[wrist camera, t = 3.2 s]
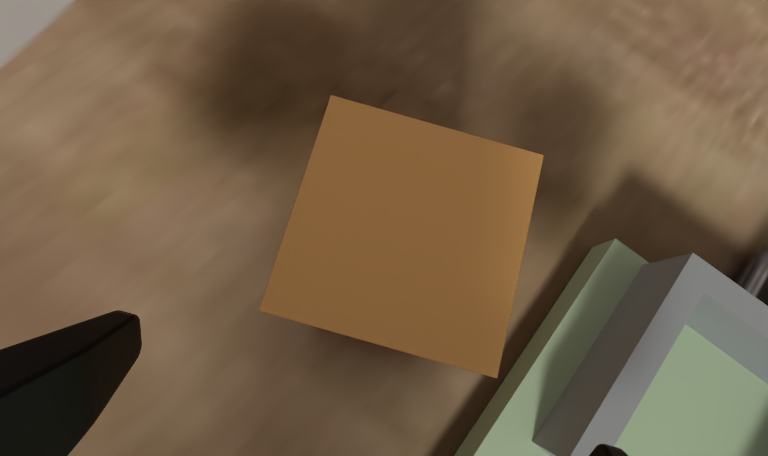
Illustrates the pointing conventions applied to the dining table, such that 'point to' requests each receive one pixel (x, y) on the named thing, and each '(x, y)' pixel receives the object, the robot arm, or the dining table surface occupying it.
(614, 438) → the pale green pegged block
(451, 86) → the dining table surface
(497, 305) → the tan tall rectangular block
